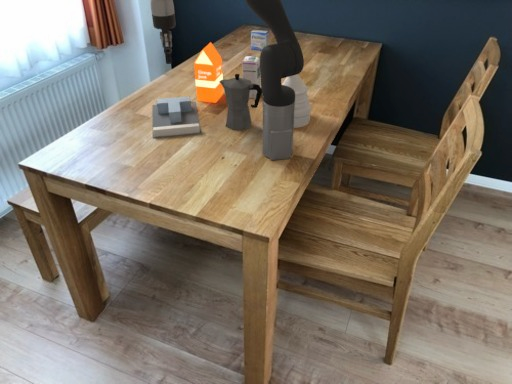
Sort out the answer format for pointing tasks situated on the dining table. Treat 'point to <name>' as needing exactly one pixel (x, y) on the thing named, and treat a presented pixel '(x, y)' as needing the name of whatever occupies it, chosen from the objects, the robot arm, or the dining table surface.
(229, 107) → the coffeepot
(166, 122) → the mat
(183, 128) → the rail
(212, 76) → the orange juice
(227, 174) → the dining table surface
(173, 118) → the t block
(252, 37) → the medicine box
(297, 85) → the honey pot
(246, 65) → the syrup box
